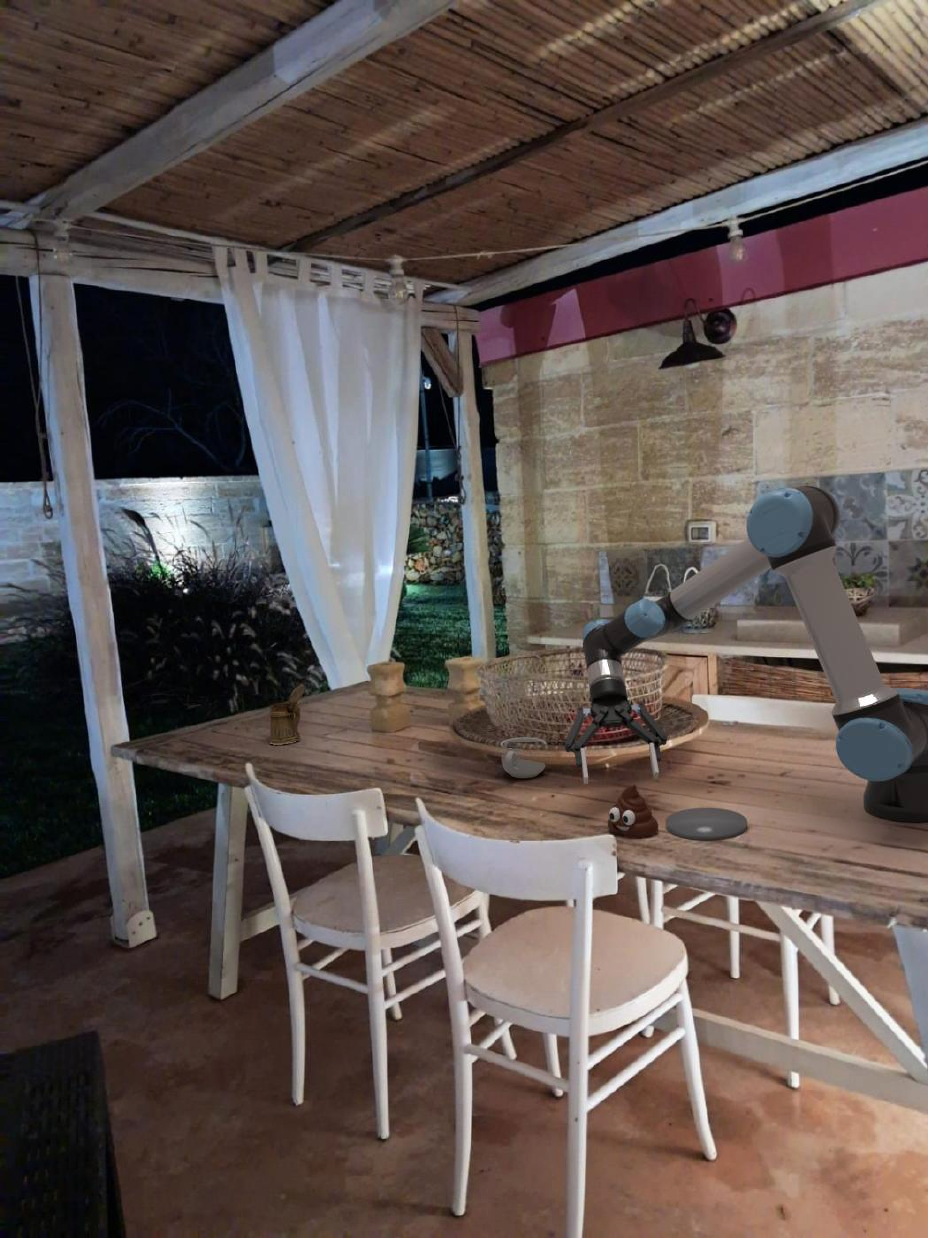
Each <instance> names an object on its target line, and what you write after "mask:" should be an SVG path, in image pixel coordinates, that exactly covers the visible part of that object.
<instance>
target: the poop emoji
mask: <svg viewBox="0 0 928 1238" xmlns="http://www.w3.org/2000/svg"><path fill="white" fill-rule="evenodd" d="M608 816H609V818H608V820H607V828H608V830H609V831H610V832H611V833H613V834H615V835H624V836H625V837H628V838H632V837H634V839H644V838H643V837H645V838H649V837H652V836H653V834H654V835H655V834H656V833H658V830H659V822H658V821H657V818H655V817H654V816H653V812H652V809H651V808H650V807H649V806H648V803H647V802H646V798H645V797H644V796H642V795H641V794H640V792H639V791H638V789H637V786H636V784H632V785H629V786H627V787H626V788H625V789H624V790H623V791H622V793H621V795H620V796H619V798H618V799H617V800H616V801H615V804H614V805H613V806H612V808H610V810H609V813H608ZM651 835H652V836H651ZM648 836H649V837H648Z"/></svg>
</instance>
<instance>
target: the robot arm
mask: <svg viewBox="0 0 928 1238" xmlns="http://www.w3.org/2000/svg"><path fill="white" fill-rule="evenodd" d="M839 508H840V507H839V505H838V502H837V501H836V499H835V498H834V497H833V495H831V493H829V492H828V491H827V490H825V489H823V488H821V487H818V486H812V485H803V486H795V487H780V488H777V489H775V490H771V491H770V492H767V493H766V494H763V495H761V496H760V497H759V498H758V499H757V500H756V501H755V502H754V503H753V504H752V506H751V508H750V510H749V512H748V514H747V518H746V527H745V528H746V533H747V538H746V539H744V540H743V541H742V542H740V543H738V544H737V545H735V547H733V548H731V549H730V550H728V551H727V552H725V554H723V555H721V556H720V557H718V558H716V559H715V560H714V561H713V562H711V563H710V564H708V565H707V566H705V567H704V568H703V569H701V570H700V571H698V572H697V573H696V574H694V575H692V576H690V578H688V579H687V580H685V581H684V582H682V583H681V584H679V585H678V586H676V587H675V588H673V589H672V590H671V591H670V592H668V593H666V594H665V595H664V596H663V595H662V597H661V598H659V599H657V600H655V601H653V600H650V599H649V598H642V599H640V600H638V601H637V602H635V603H633V604H631V605H629V606H628V608H626V609H625V610H624V611H622V612H621V613H620V614H618V615H617V616H615V617H614V618H613V619H612V620H607V619H600V618H599V619H596V620H595V621H590V622H588V623H587V624H586V625H585V626H584V627H583V629H582V645H581V646H582V649H583V653H584V658H585V665H586V673H587V674H586V675H587V682H588V688H589V696H590V703H591V704H590V705H591V706H590V708H589V707H588V708H584V707H583V706H582V705H578V706H577V709H576V710H577V712H576V713H577V714H576V715H577V716H576V717H575V720H574V722H573V723H572V726H571V729H570V731H569V733H568V736H567V738H566V740H565V743H564V750H565V751H564V752H567V753H570V752H571V753H573V754H574V757H575V758H574V759H575V765H576V766H575V767H576V768H577V769H579V768H581V769H582V776H583V777H582V778H583V779H582V780H583V784H584V785H588V784H589V773H588V766H587V758H586V749H585V748H586V746H587V745H588V743H590V741H591V740H592V739H593V737H594V736H595V734H596V733H599V731H600V730H601V729H602V727H603V728H605V729H611V728H621V727H622V726H623V727H625V728H626V729H627V730H630V731H632V733H634V734H635V735H636V736H637V737H639V738H640V739H641V740H643V741H644V742H645V743H646V744H647V745H648V753H649V758H650V759H649V760H650V764H651V769H652V775H653V779H654V780H657V779H659V774H660V771H659V766H658V762H659V763H660V762H661V761H662V752H661V746H665V745H667V742H668V734H667V733H666V732H665V731H664V729H663V728H662V727H661V726H660V725H659V723H658V722H657V721H656V720H655V719H654V717H653V716H652V715H651V713H650V712H649V711H648V710H647V707H646V703H645V702H644V701H643V700H640V701H639V702H638V703H637V704H632V705H631V703H630V702H629V697H628V693H627V686H626V680H625V675H624V674H625V673H624V669H623V662H622V657H623V656H624V655H626V654H628V653H629V652H631V651H632V650H633V649H636V648H637V647H638V646H640V645H641V644H643V643H644V642H647V641H650V640H651V641H652V640H653V639H654V640H655V639H656V638H659V637H661V636H665V635H668V634H674V633H677V632H678V631H681V630H682V629H683V628H684V627H686V626H687V625H688V624H689V622H690V621H692V620H693V619H695V618H696V617H698V616H699V615H700V614H702V613H704V612H705V611H708V609H710V608H712V607H713V606H714V605H716V604H718V603H719V602H720V601H722V600H724V599H725V598H727V597H728V596H730V595H732V594H733V593H734V592H736V591H737V590H739V589H741V588H742V587H744V586H745V585H747V584H748V583H750V582H751V581H753V580H755V579H756V578H758V577H759V576H760V575H761V576H762V574H764V573H765V572H768V571H769V570H770V569H771V570H772V572H773V573H775V574H777V575H780V576H782V577H783V578H784V579H785V581H786V583H787V585H788V587H789V590H790V593H791V595H792V598H793V600H794V602H795V605H796V607H797V610H798V612H799V614H800V618H801V620H802V622H803V624H804V627H805V629H806V631H807V634H808V637H809V639H810V641H811V644H812V646H813V648H814V651H815V654H816V657H817V659H818V660H819V664H820V667H821V668H822V671H823V672H824V675H825V677H826V680H827V682H828V686H829V687H830V690H831V692H832V695H833V697H834V699H835V703H834V705H833V708H832V709H831V716H832V718H833V720H834V723H835V725H836V728H837V730H838V733H837V736H836V740H835V750H836V754H837V757H838V759H839V761H840V762H841V763H842V766H844V767H845V768H846V769H847V771H849V772H850V773H851V774H853V775H855V776H857V777H858V778H861V779H862V780H866V781H867V784H866V787H865V789H864V792H863V808H864V810H865V811H866V812H868V813H869V814H871V815H872V816H875V817H878V818H882V819H885V820H890V821H897V822H909V823H921V822H923V823H924V822H925V823H926V822H928V690H926V689H919V688H903V687H901V688H899V687H897V688H895V687H890V686H889V685H886V684H885V681H884V680H883V677H882V675H881V673H880V670H879V667H878V665H877V662H876V660H875V657H874V656H873V653H872V651H871V648H870V646H869V644H868V641H867V639H866V636H865V634H864V632H863V629H862V627H861V624H860V623H859V620H858V617H857V615H856V612H855V610H854V607H853V606H852V603H851V601H850V599H849V596H848V594H847V591H846V590H845V587H844V584H843V581H842V579H841V578H840V574H839V573H838V572H839V571H838V570H837V568H836V565H835V563H834V561H833V559H834V558H833V557H834V555H835V552H836V550H837V548H838V546H837V543H836V541H835V539H834V536H833V535H834V534H835V532H836V530H837V529H838V526H839V524H840V515H841V514H840V509H839ZM632 713H635V715H637V716H639V717H640V719H641V721H642V722H643V724H644V725H645V726H646V727H647V728H648V729H649V730H648V729H647V728H646V727H644V726H643V725H642V724H641V723H640V722H638V721H637V720H636V719H635V718H634V717H633V716H632ZM588 716H591V718H592V722H591V724H590V725H589V726H588V727H587V728H586V730H585V731H584V732H583V734H581V736H580V737H579V739H578V740H577V741H576V739H577V737H578V735H579V733H580V731H581V728H582V726H583V723H584V720H586V719H587V718H588ZM575 741H576V742H575Z"/></svg>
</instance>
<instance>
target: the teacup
mask: <svg viewBox="0 0 928 1238" xmlns="http://www.w3.org/2000/svg"><path fill="white" fill-rule="evenodd" d="M505 742H542V743H544V744H545V745H546V746H547V741H546V740H544V739H541V738H536V737H526V736H525V737H524V736H523V737H513V738H512V737H511V738H508V739H505V740H502V741H501V742H500V743H499V744H500V748H501V747H502V748H503V749H506V750H511V751H509V752H508V753H507V754H506V755H505V754H504V755H501V763H502V768H503V769H504V771H505V773H508V775H510V776H511V777H513V778H517V779H531V778H535V777H537V776H538V775H539V774H540V773H542V772H543V771H544V770H545V768H546V765H545V764H544V763H541V762H535V761H531V760H523V759H520V758H519V757H517V755H516V753H515V752H516V751H520V750H522V749H512V748H507V747H504V746H503V743H505ZM514 751H515V752H514Z"/></svg>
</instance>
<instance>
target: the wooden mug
mask: <svg viewBox="0 0 928 1238" xmlns="http://www.w3.org/2000/svg"><path fill="white" fill-rule="evenodd" d="M305 689H306V686H305V685H304V683H303V682H301V683H299V684H298V685H297V686H296V687H295V688H294V689H292V691H291V692H290V693H289V696H288V701H289V702H282V703H281V702H280V703H275V704H272V705H270V711H269V716H270V721H269V722H270V723H269V724H270V725H269V727H270V728H269V729H270V730H269V731H270V732H269V735H270V736H269V741H268V742H272V743H286V742H294V741H298V740H299V739H300V738H301V734H300V732H299V730H298V725H299V722H300V720H301V719H300V718H301V708H300V705H299V704H298V701H299V700H300V699H301V697H302V696H303V694H304V693H305ZM300 740H301V739H300ZM298 742H299V741H298Z"/></svg>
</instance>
